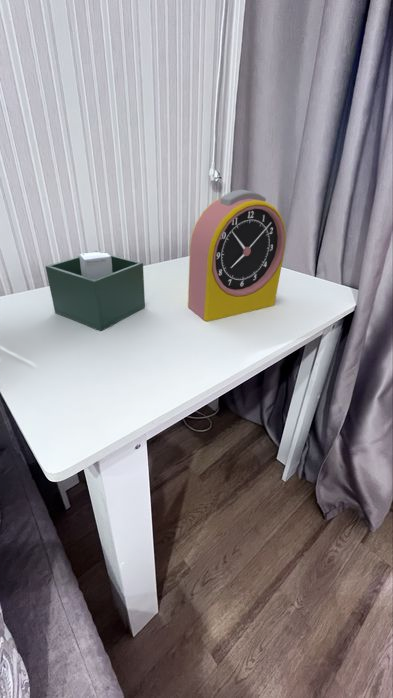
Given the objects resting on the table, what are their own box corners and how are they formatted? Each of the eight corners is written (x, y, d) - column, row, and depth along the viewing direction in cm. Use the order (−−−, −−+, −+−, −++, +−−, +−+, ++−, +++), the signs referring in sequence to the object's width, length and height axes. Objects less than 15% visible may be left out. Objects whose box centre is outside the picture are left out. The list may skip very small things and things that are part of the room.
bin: (100, 331, 70) (94, 281, 64) (55, 312, 76) (45, 266, 70) (145, 307, 80) (143, 262, 75) (101, 292, 87) (96, 250, 81)
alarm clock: (205, 321, 75) (214, 195, 61) (186, 306, 82) (190, 189, 68) (275, 305, 85) (296, 192, 70) (253, 292, 91) (268, 186, 77)
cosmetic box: (90, 312, 75) (83, 259, 68) (85, 305, 78) (77, 253, 71) (117, 307, 78) (112, 256, 71) (110, 300, 81) (105, 250, 74)
